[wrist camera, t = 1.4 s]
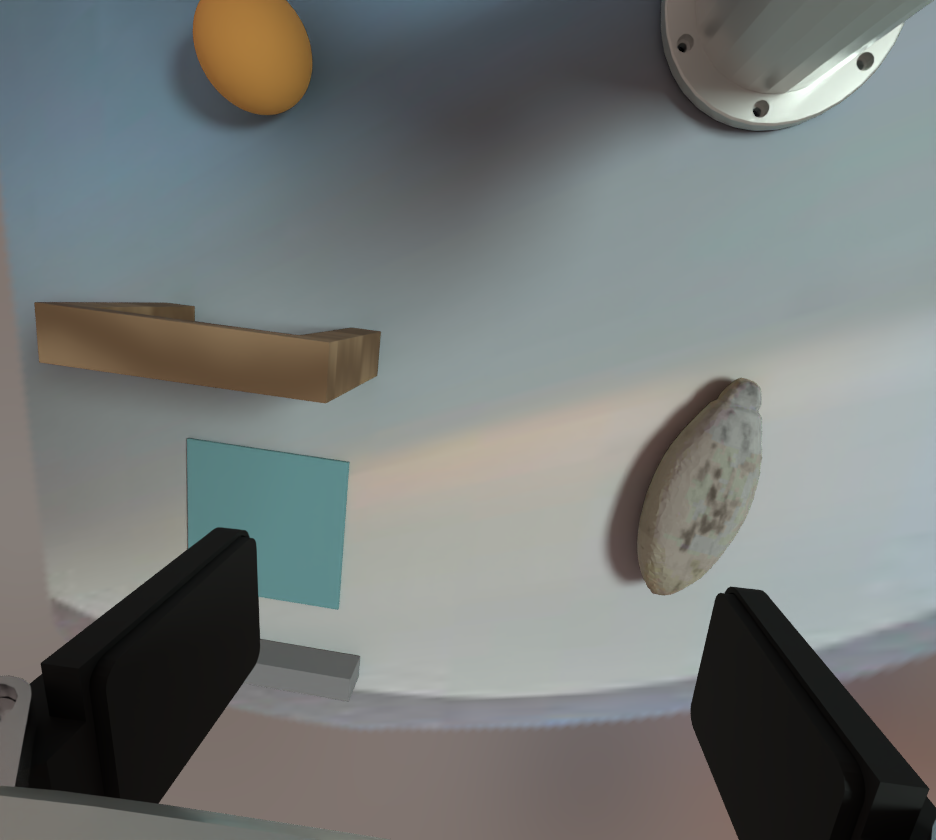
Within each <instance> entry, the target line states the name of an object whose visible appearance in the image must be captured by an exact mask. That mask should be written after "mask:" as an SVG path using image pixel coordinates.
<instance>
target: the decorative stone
mask: <svg viewBox="0 0 936 840" xmlns="http://www.w3.org/2000/svg"><path fill="white" fill-rule="evenodd" d="M760 406H761V389H760V387H759V386H758V385H757V384H756V383H755V382H753V381H751V380H748V379H744V378H739V379H737V380H735V381H734V382H732V383H731V384H730V385H729V386H728V387H727V388H726V389H725V390H723V391H722V392H721V394H720V395H719V397H718V399H717V400H714V401H712V402H710V403H709V404H708V405H707V406H706V407H705V408H704V409H703V410H702V411H701V412H700V413H699V414H698V415H697V416H696V417H695V418H694V419H693V420H692V421H691V422H690V423H689V424H688V425H687V426H686V427H685V429H684V430H683V431H682V432H681V433H680V434H679V435H678V437H677V438H676V439H675V440H674V442H673V443H672V444H671V446H670V447H669V449H668V450H667V452H666V453H665V455H664V456H663V458H662V460H661V462H660V464H659V466H658V468H657V470H656V472H655V474H654V476H653V479H652V481H651V484H650V486H649V488H648V491H647V494H646V497H645V501H644V504H643V509H642V513H641V516H640V523H639V528H638V537H637V554H638V561H639V566H640V570H641V572H642V576H643V579H644V580H645V582H646V585H647V587H648V588H649V589H650V590H651V592H652V593H653V594H658V595H670V594H673V593H676V592H678V591H680V590H682V589H684V588H685V587H687V586H689V585H690V584H693V583H694V582H695V581H697V580H698V579H700V578H701V577H702V576H703V575H704V574H705V573H706V572H707V571H708V570H709V569H711V567H712V566H713V565H714V564H715V563H716V562H717V560H718V559H719V558H720V557H721V555H722V554H723V553H724V551H725V550H726V548H727V547H728V546H729V545H730V543H731V542H732V541H733V539H734V537H735V536H736V534H737V533H738V531H739V529H740V527H741V526H742V524H743V522H744V520H745V518H746V516H747V514H748V512H749V509H750V507H751V504H752V501H753V499H754V494H755V491H756V488H757V484H758V480H759V476H760V465H761V460H762V447H761V442H762V418H761V415H760V414H759V411H758V410H759V408H760Z"/></svg>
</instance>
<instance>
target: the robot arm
mask: <svg viewBox="0 0 936 840" xmlns="http://www.w3.org/2000/svg"><path fill="white" fill-rule="evenodd" d="M933 1H934V0H662V2H661V35H662V41H663V48H664V53H665V56H666V59H667V62H668V65H669V67H670V70H671V73H672V75H673V77H674V78H675V80H676V82H677V83H678V85H679V87H680V88H681V90H682V92H683V93H684V94H685V95H686V96H687V97H688V98H689V99H690V101H691V102H692V103H693V104H694V105H695V106H696V107H697V108H698V109H700V110H701V111H703V112H704V113H706V114H707V115H708V116H710V117H711V118H713V119H714V120H717V121H719V122H722V123H724V124H727V125H729V126H732V127H735V128H741V129H747V130H753V131H761V130H778V129H782V128H786V127H790V126H795V125H799V124H801V123H803V122H806V121H808V120H810V119H812V118H815V117H817V116H819V115H821V114H823V113H824V112H826V111H827V110H829V109H831V108H832V107H834V106H836V105H837V104H839V103H841V102H842V101H843V100H845V99H846V98H847V97H848V96H850V95H851V94H852V93H853V92H855V91H856V90H857V89H859V88H860V87H861V86H862V85H863V84H864V83H865V82H866V81H867V80H868V79H869V78H870V77H871V76H872V75H873V74H874V73H875V71H876V70H877V69H878V68H879V66H880V65H881V64H882V62H883V61H884V59H885V58H886V56H887V55H888V53H889V52H890V50H891V49H892V47H893V46H894V44H895V42H896V40H897V38H898V36H899V34H900V32H901V30H902V27H903V25H904V23H905V21H906V20H907V19H909V18H910V17H912V16H913V15H914V14H916V13H917V12H919V11H920V10H921V9H923V8H924V7H926V6H927V5H928V4H930V3H931V2H933ZM677 47H682V48H683V49H684V53H683V52H681V51H679V49H678V48H677ZM753 110H754V111H756V112H757V117H756V116H755V115H754V114H753ZM259 653H260V627H259V599H258V572H257V546H256V541H255V539H253V538H250V536H249V534H248V532H247V531H246V530H240V529H232V528H223V527H217V528H215V529H213V530H212V531H211V532H209V533H208V534H207V535H206V536H204V537H203V538H202V539H200V540H199V541H198V542H197V543H195V544H194V545H193V546H191V547H190V548H189V549H187V550H186V551H185V552H184V553H182V554H181V555H180V556H178V557H177V558H176V559H175V560H173V561H172V562H171V563H169V564H168V565H167V566H166V567H164V568H163V569H162V570H160V571H159V572H158V573H156V574H155V575H154V576H153V577H151V578H150V579H149V580H147V581H146V582H145V583H144V584H142V585H141V586H140V587H138V588H137V589H136V590H135V591H133V592H132V593H131V594H129V595H128V596H127V597H125V598H124V599H123V600H122V601H120V602H119V603H118V604H116V605H115V606H114V607H113V608H111V609H110V610H109V611H107V612H106V613H105V614H104V615H102V616H101V617H100V618H98V619H97V620H96V621H95V622H93V623H92V624H91V625H89V626H88V627H87V628H85V629H84V630H83V631H82V632H80V633H79V634H78V635H76V636H75V637H74V638H73V639H71V640H70V641H69V642H67V643H66V644H65V645H64V646H62V647H61V648H60V649H58V650H57V651H56V652H55V653H53V654H52V655H51V656H49V657H48V658H47V659H45V660H44V661H43V662H42V663H41V668H42V674H41V675H40V676H39V677H38V678H36V679H35V680H34V681H33V682H32V683H30V684H29V683H27V682H26V681H25V680H24V679H22V678H19V677H14V676H0V840H389V839H383V838H377V837H370V836H364V835H358V834H352V833H345V832H339V831H333V830H326V829H320V828H313V827H306V826H300V825H294V824H287V823H280V822H274V821H267V820H261V819H255V818H248V817H242V816H235V815H229V814H222V813H216V812H209V811H203V810H196V809H190V808H183V807H177V806H170V805H163V804H158V803H159V802H160V800H161V799H162V797H163V796H164V795H165V793H166V792H167V791H168V789H169V788H170V786H171V785H172V783H173V782H174V781H175V779H176V778H177V776H178V775H179V774H180V772H181V771H182V769H183V767H184V766H185V765H186V764H187V762H188V761H189V759H190V758H191V756H192V755H193V754H194V752H195V751H196V749H197V748H198V746H199V745H200V744H201V742H202V741H203V739H204V738H205V737H206V735H207V734H208V732H209V731H210V729H211V728H212V727H213V725H214V724H215V722H216V721H217V719H218V718H219V717H220V715H221V714H222V712H223V711H224V710H225V708H226V707H227V705H228V704H229V702H230V701H231V700H232V698H233V697H234V695H235V694H236V693H237V691H238V690H239V688H240V687H241V685H242V684H243V683H244V681H245V680H246V678H247V677H248V675H249V674H250V673H251V671H252V670H253V668H254V667H255V665H256V663H257V660H258V657H259ZM691 721H692V725H693V729H694V731H695V733H696V736H697V738H698V741H699V743H700V746H701V748H702V751H703V753H704V756H705V758H706V760H707V763H708V765H709V768H710V770H711V773H712V775H713V777H714V780H715V782H716V785H717V787H718V790H719V792H720V795H721V797H722V800H723V802H724V804H725V807H726V809H727V812H728V814H729V817H730V819H731V822H732V824H733V826H734V829H735V831H736V834H737V836H738V839H739V840H936V807H935V806H934V805H933V804H932V802H931V801H930V800H929V799H928V797H927V794H928V791H929V788H928V787H927V785H926V784H925V783H924V782H923V781H922V779H921V778H920V777H919V776H918V775H917V773H916V772H915V771H914V770H913V769H912V767H911V766H910V765H909V764H908V763H907V762H906V760H905V759H904V758H903V757H902V755H901V754H900V753H899V752H898V751H897V749H896V748H895V747H894V746H893V745H892V744H891V742H890V741H889V740H888V739H887V738H886V736H885V735H884V734H883V733H882V732H881V730H880V729H879V728H878V727H877V726H876V724H875V723H874V722H873V721H872V720H871V718H870V717H869V716H868V715H867V714H866V712H865V711H864V710H863V709H862V708H861V706H860V705H859V704H858V703H857V702H856V701H855V699H854V698H853V697H852V696H851V695H850V693H849V692H848V691H847V690H846V689H845V687H844V686H843V685H842V684H841V683H840V681H839V680H838V679H837V678H836V677H835V675H834V674H833V673H832V672H831V671H830V669H829V668H828V667H827V666H826V665H825V663H824V662H823V661H822V660H821V659H820V657H819V656H818V655H817V654H816V653H815V651H814V650H813V649H812V648H811V647H810V645H809V644H808V643H807V642H806V641H805V640H804V638H803V637H802V636H801V635H800V634H799V632H798V631H797V630H796V629H795V628H794V626H793V625H792V624H791V623H790V622H789V620H788V619H787V618H786V617H785V616H784V614H783V613H782V612H781V611H780V610H779V608H778V607H777V606H776V605H775V604H774V602H773V601H772V600H771V599H770V598H769V596H768V595H767V594H766V593H765V592H764V591H762V590H755V589H747V588H738V587H729V588H728V589H727V590H726V591H725V594H724V593H719V594H718V595H717V596H716V599H715V603H714V607H713V611H712V616H711V620H710V624H709V629H708V633H707V638H706V642H705V646H704V651H703V655H702V659H701V664H700V668H699V672H698V677H697V681H696V686H695V690H694V694H693V699H692V703H691Z"/></svg>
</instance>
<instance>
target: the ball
mask: <svg viewBox="0 0 936 840" xmlns="http://www.w3.org/2000/svg"><path fill="white" fill-rule="evenodd" d="M193 40H194V46H195V50H196V54H197V57H198V60H199V62H200V65H201V67H202V69H203V71H204V73H205V75H206V76H207V78H208V79H209V81H210V82H211V84H212V85H213V86H214V87H215V88H216V90H217V91H218V92H219V93H220V94H221V95H222V96H223V97H225V98H226V99H227V100H228V101H229V102H231V103H232V104H234V105H235V106H237V107H239V108H241V109H243V110H245V111H248V112H251V113H254V114H259V115H275V114H279V113H282V112H285V111H287V110H289V109H290V108H292V107H293V106H294V105H296V104H297V103H298V102H299V101H300V100H301V98H302V97H303V95H304V94H305V92H306V90H307V88H308V85H309V82H310V79H311V74H312V52H311V46H310V42H309V38H308V36H307V33H306V30H305V28H304V26H303V24H302V21H301V20H300V18H299V16H298V15H297V13H296V12H295V10H294V9H293V8H292V7H291V5H290V4H289V3H288V2H287V1H286V0H200V1H199V3H198V6H197V8H196V11H195V15H194V21H193Z"/></svg>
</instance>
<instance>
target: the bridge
mask: <svg viewBox="0 0 936 840" xmlns="http://www.w3.org/2000/svg"><path fill="white" fill-rule="evenodd" d="M34 304H35V316H36V328H37V341H38V353H39V362H41V363H48V364H55V365H62V366H69V367H76V368H83V369H90V370H96V371H103V372H110V373H117V374H124V375H131V376H138V377H145V378H152V379H159V380H166V381H173V382H180V383H187V384H194V385H201V386H208V387H215V388H222V389H229V390H236V391H243V392H250V393H257V394H264V395H271V396H278V397H285V398H292V399H299V400H306V401H313V402H320V403H327V402H329V401H331V400H333V399H335V398H337V397H339V396H340V395H342V394H344V393H346V392H348V391H350V390H352V389H353V388H355V387H357V386H359V385H361V384H363V383H364V382H366V381H368V380H370V379H372V378H374V377H376V376H377V372H378V360H379V348H380V336H381V332H380V331H373V330H366V329H358V328H346V329H339V330H333V331H326V332H319V333H313V334H306V335H292V334H285V333H277V332H270V331H263V330H255V329H248V328H241V327H233V326H226V325H219V324H211V323H204V322H197V321H195V306H187V305H180V304H173V303H106V302H34Z"/></svg>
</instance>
